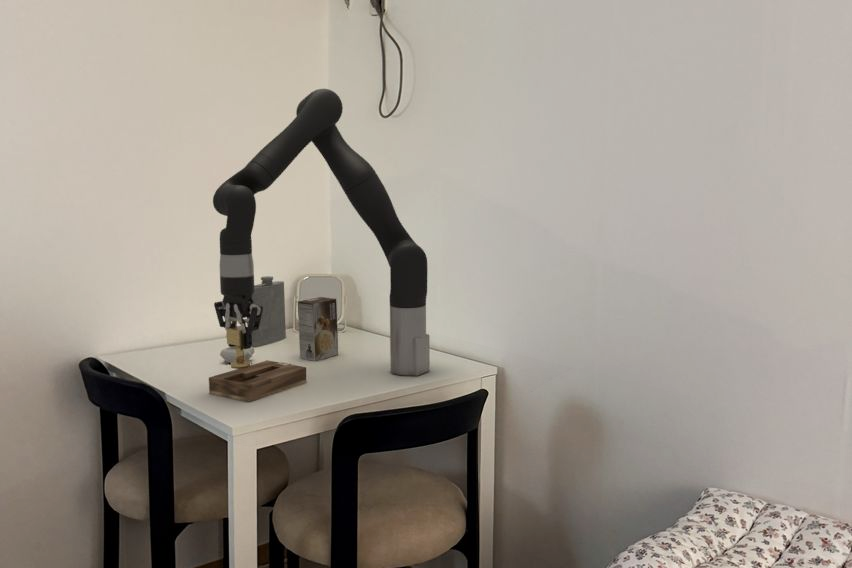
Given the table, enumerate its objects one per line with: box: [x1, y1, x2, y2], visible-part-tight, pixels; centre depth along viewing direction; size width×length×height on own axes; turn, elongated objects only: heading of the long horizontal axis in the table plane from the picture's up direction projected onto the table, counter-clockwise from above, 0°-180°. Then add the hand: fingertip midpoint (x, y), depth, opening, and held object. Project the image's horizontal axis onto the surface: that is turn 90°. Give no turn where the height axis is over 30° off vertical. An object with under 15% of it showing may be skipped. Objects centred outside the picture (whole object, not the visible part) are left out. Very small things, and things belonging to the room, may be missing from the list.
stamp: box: [219, 332, 255, 364], centre depth 206 cm, size 9×7×8 cm
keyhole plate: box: [208, 359, 307, 403], centre depth 182 cm, size 13×19×4 cm
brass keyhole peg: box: [225, 325, 251, 370], centre depth 176 cm, size 4×4×9 cm
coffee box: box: [297, 296, 339, 362], centre depth 211 cm, size 9×6×16 cm
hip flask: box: [251, 275, 287, 349], centre depth 229 cm, size 16×4×20 cm, turn 153°
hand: (239, 346), depth 176 cm, fingers closed on brass keyhole peg, 4 cm apart
